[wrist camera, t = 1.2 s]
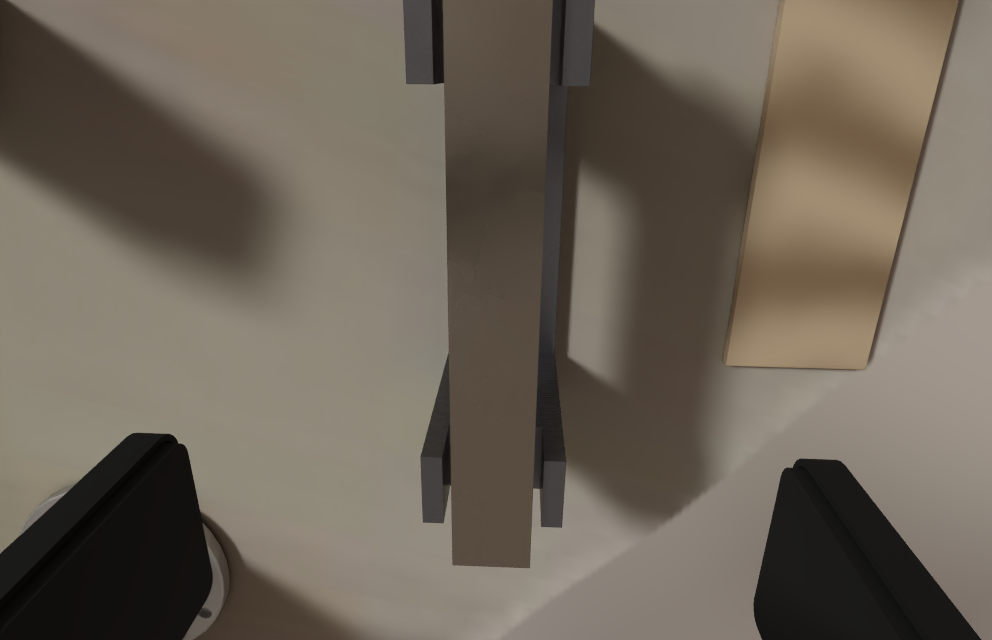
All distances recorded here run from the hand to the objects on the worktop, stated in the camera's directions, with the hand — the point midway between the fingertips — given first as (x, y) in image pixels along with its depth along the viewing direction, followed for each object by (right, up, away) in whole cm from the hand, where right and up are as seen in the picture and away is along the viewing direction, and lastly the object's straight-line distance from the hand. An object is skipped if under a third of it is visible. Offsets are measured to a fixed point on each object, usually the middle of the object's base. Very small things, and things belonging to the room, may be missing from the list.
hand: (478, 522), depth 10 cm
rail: (0, +5, +13) cm, 14 cm away
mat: (+16, +11, +19) cm, 27 cm away
